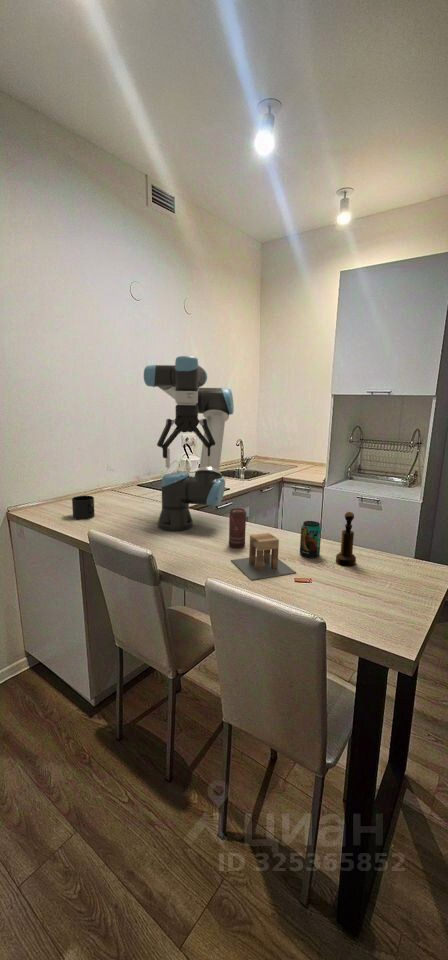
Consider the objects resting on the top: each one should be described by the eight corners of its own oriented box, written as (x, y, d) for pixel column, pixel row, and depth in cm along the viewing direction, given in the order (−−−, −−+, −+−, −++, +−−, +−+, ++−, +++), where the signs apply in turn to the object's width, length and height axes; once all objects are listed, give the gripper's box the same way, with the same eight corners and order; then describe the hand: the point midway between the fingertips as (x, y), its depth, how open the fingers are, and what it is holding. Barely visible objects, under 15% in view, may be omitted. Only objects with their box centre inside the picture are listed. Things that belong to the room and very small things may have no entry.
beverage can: (295, 554, 142) (297, 523, 140) (306, 550, 147) (308, 519, 145) (313, 560, 137) (315, 527, 135) (323, 555, 142) (325, 523, 140)
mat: (230, 561, 135) (230, 559, 135) (272, 555, 141) (272, 554, 141) (250, 580, 121) (251, 579, 121) (296, 573, 127) (296, 572, 126)
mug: (85, 522, 175) (84, 502, 173) (68, 517, 182) (67, 498, 180) (102, 517, 183) (101, 498, 181) (86, 513, 189) (85, 494, 188)
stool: (249, 563, 133) (250, 534, 131) (267, 560, 135) (268, 532, 133) (258, 571, 126) (259, 541, 125) (277, 568, 129) (278, 539, 127)
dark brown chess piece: (341, 557, 141) (345, 508, 137) (359, 562, 136) (363, 512, 133) (332, 562, 136) (336, 512, 133) (349, 568, 131) (354, 516, 128)
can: (244, 549, 147) (245, 512, 144) (227, 547, 148) (228, 511, 145) (246, 543, 152) (247, 508, 150) (230, 542, 154) (231, 507, 151)
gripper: (152, 404, 125) (153, 470, 129) (225, 405, 134) (224, 466, 139) (147, 403, 131) (148, 466, 136) (216, 404, 141) (216, 463, 145)
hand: (186, 466), depth 137 cm, fingers open, 13 cm apart
